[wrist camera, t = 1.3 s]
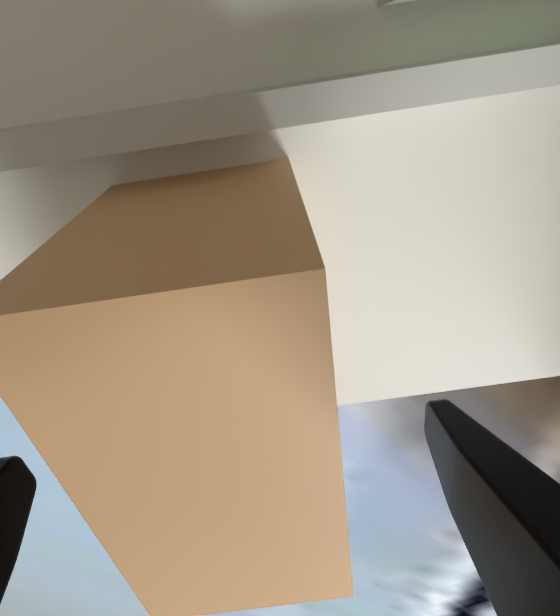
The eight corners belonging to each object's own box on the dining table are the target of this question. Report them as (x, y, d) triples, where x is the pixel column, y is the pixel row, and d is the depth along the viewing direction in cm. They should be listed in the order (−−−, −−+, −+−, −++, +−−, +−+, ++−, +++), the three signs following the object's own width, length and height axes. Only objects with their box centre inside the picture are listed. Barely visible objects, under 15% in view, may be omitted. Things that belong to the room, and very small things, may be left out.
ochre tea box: (112, 185, 11) (-50, 322, 5) (291, 157, 11) (332, 267, 5) (192, 412, 16) (153, 621, 10) (319, 395, 16) (357, 596, 10)
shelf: (1020, -694, 6) (1460, -1129, 4) (618, 353, 17) (674, 398, 14) (-471, -391, 7) (-825, -612, 5) (48, 430, 17) (17, 484, 15)
